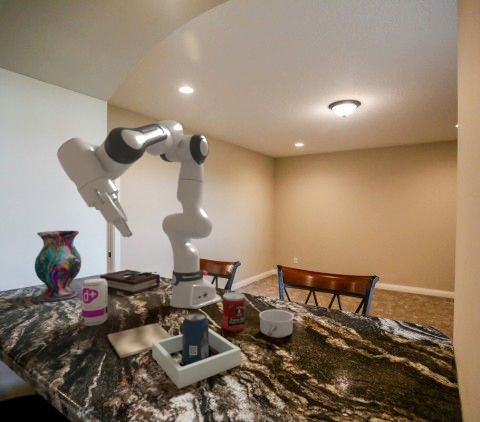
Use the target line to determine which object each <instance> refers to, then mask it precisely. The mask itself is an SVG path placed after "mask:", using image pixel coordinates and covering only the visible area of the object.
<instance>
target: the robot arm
mask: <svg viewBox="0 0 480 422" xmlns="http://www.w3.org/2000/svg"><path fill="white" fill-rule="evenodd" d="M145 152H146V153H148V154H149V155H150V156H151V155H152V156H153V157H156V156H159V157H160V158H161V160H163V161H164V162H168V163H180V168H179V174H178V179H177V190H176V200H178V202H179V203H180V204H181V206H182V212H175V213H171V214H168V215H165V217H163V220H162V223H161V226H162V230H163V233H165V234H166V237H167V238H168V240H169V242H170V246H171V249H172V255H173V256H172V258H173V270H172V277H171V279H172V290H171V291H172V292H171V296H170V300H169V306H170V307H173V308H178V309H179V308H180V309H181V308H182V309H193V310H194V309H195V310H196V309H200V308H202V307H206V306H208V305H213V304H216V303H218V302H221V301H222V297H221V295H219V294H217V290H216V287H215V286H214V284H212V283H211V282H210V281H208V280H207V279H206V278H205V277H207V275H208V271H206V270H202V269H201V268H200V252H199V250H198V249H197V247H196V246H195V244H194V243H193V240H202V239H206V238H208V237H209V236H210V235H211V233H212V231H213V221H212V219H211V217H210V216H209V215H208V214H207V213H206V211H205V206H204V199H203V196H204V195H203V194H204V183H205V182H204V181H205V169H204V162H205V160H206V159H207V157H208V155H209V152H210V145H209V142H208V140H207V138H206V137H205V136H204V135H202V134H184V130H183V127H182V125H181V124H180V123H179V122H178V121H176V120H173V119H163V120H160V121H159V120H158V121H155V122H154V123H149V124H146V125H142V126H138V127H122V126H119V127H115V128H112V129H111V130H110V131H109V133H108V134H107V136H106V138H105V139H104V141H103V142H102V143H101V144H100V145H96V144H95V145H94V144H92V143H89V142H86V141H84V139H82V138H81V137H79V136H78V137H73V138H70V139H68V140H67V141H65V142H64V143H62V145H61V146H60V147H59V148H58V150H57V153H56V156H57V159H58V162H59V165H61V167H62V169H63V171H64V172H65V174H66V175H67V177H68V178H69V180H70V181H71V182H73V183H74V185H75V186H76V189H77V192H78V193H79V195H80V197H81V198H82V199H83V201H84V202H85V204H86V206H87V207H89V208H95V209H96V211H99V213H101V215H102V217H103V218H104V220H105V222H107V223H108V224H110V225H113V226H114V227H115V228H116V229H117V231H118V232H119V233H120V234H121V235H122V237H123V238H130V237H132V236H133V234H134V233H133V232H132V231H131V229H130V227H129V225H128V224H127V222H128V220H129V219H128V218H127V216H126V213H125V211H124V209H123V208H122V205H121V203H120V201H119V195H118V194H119V192H120V191H119V188H118V187H117V185H115V183H114V180H116V179H119V178H120V177H121V176H122V175H123V174H124V173H126V171H127V170H128V169H130V168H131V167H132V165H133V164H134V163H135V162H137V161H138V160H140V159H141V158H142V157H143V156H144V153H145ZM204 276H205V277H204Z"/></svg>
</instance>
